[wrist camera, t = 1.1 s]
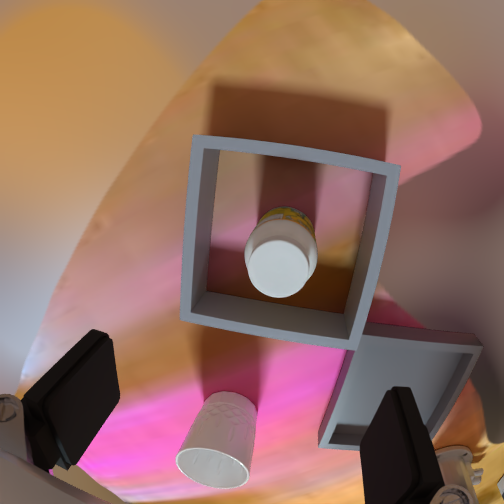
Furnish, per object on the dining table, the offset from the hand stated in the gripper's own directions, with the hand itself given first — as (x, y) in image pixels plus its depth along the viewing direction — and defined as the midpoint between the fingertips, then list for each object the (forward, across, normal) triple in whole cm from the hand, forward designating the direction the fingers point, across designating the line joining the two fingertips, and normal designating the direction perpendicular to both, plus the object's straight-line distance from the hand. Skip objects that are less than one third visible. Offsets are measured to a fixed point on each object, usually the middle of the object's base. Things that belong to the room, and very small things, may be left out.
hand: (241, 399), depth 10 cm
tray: (+21, -16, +16) cm, 31 cm away
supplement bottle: (+22, 0, 0) cm, 22 cm away
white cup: (+21, +2, +23) cm, 31 cm away
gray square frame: (+22, 0, 0) cm, 22 cm away
